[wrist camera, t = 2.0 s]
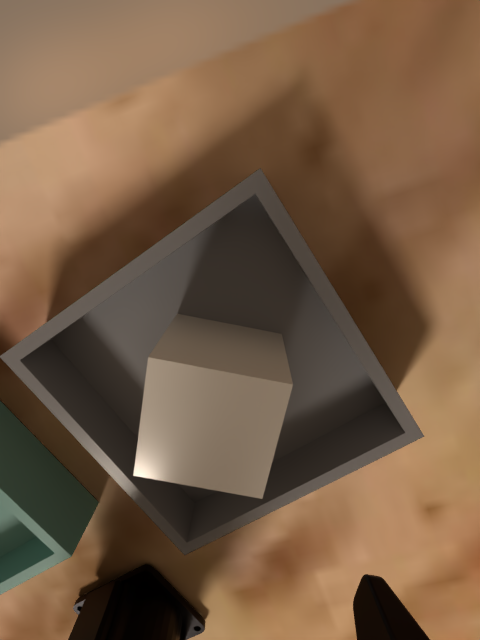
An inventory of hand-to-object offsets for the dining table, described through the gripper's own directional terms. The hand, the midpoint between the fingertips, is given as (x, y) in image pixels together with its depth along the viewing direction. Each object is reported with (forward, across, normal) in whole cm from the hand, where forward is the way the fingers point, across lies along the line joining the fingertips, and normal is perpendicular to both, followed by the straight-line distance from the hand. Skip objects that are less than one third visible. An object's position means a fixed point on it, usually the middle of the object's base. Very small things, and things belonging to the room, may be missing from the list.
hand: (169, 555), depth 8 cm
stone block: (+10, 0, 0) cm, 10 cm away
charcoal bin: (+11, 0, 0) cm, 11 cm away
